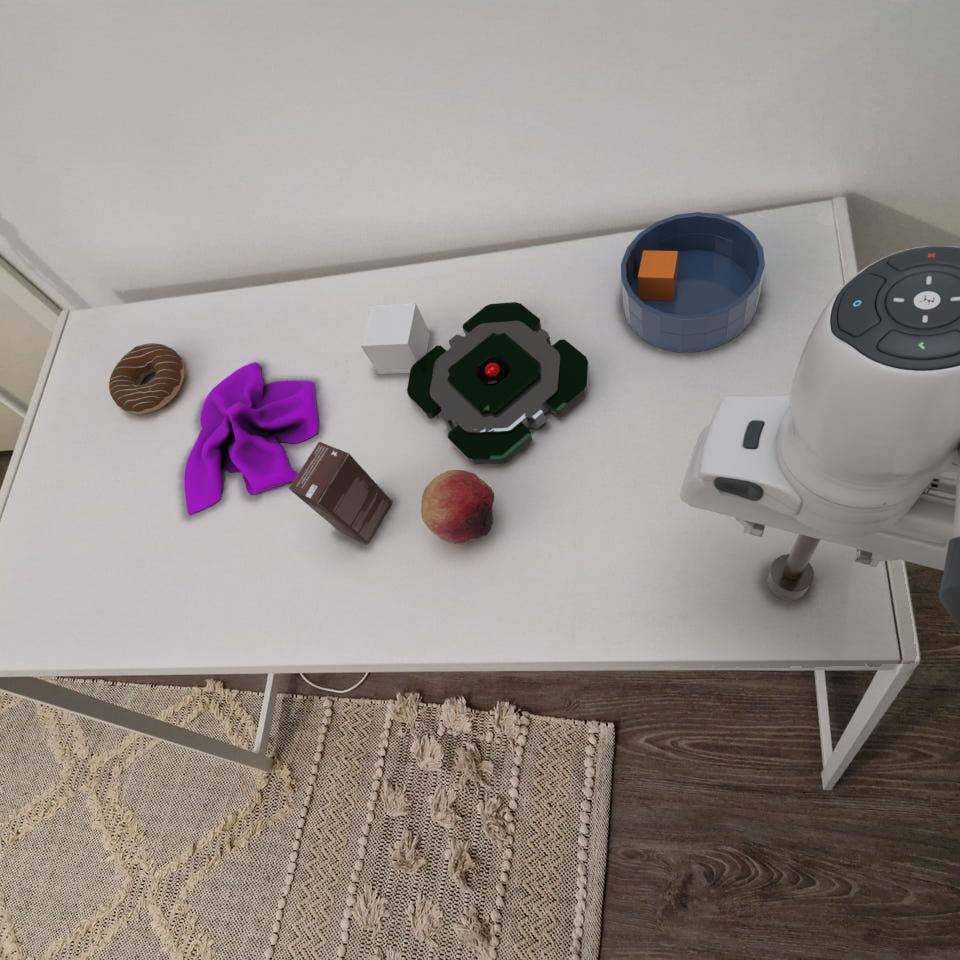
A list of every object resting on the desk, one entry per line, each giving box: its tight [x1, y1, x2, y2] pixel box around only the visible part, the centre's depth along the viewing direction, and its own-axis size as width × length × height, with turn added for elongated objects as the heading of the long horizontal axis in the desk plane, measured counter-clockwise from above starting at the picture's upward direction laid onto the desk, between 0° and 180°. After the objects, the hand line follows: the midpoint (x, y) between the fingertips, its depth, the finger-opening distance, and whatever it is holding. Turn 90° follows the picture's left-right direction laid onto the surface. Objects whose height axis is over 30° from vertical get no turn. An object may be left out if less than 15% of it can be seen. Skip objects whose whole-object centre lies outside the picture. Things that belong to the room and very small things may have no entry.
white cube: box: [360, 302, 431, 375], centre depth 87 cm, size 6×6×6 cm
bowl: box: [620, 211, 766, 353], centre depth 81 cm, size 15×15×6 cm
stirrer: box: [766, 534, 822, 602], centre depth 60 cm, size 4×4×15 cm
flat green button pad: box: [406, 301, 590, 465], centre depth 82 cm, size 18×18×5 cm
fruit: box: [420, 469, 495, 546], centre depth 74 cm, size 8×8×8 cm
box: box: [288, 441, 393, 545], centre depth 75 cm, size 6×4×12 cm
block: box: [638, 250, 678, 301], centre depth 82 cm, size 4×4×4 cm
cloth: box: [183, 361, 319, 516], centre depth 87 cm, size 22×19×6 cm
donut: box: [108, 342, 185, 414], centre depth 96 cm, size 11×11×4 cm
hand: (808, 541), depth 57 cm, fingers open, 7 cm apart
